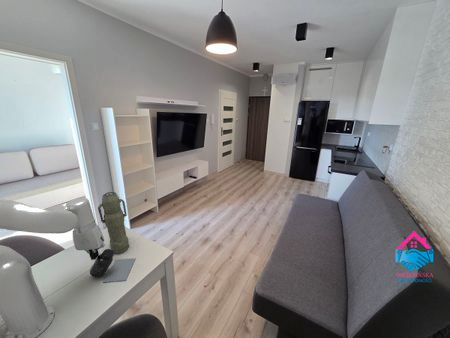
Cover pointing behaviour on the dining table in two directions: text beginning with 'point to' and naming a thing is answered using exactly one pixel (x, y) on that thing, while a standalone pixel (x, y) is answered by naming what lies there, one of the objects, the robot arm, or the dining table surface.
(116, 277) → the mat
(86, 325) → the dining table surface
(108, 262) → the supplement bottle
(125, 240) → the thermos
